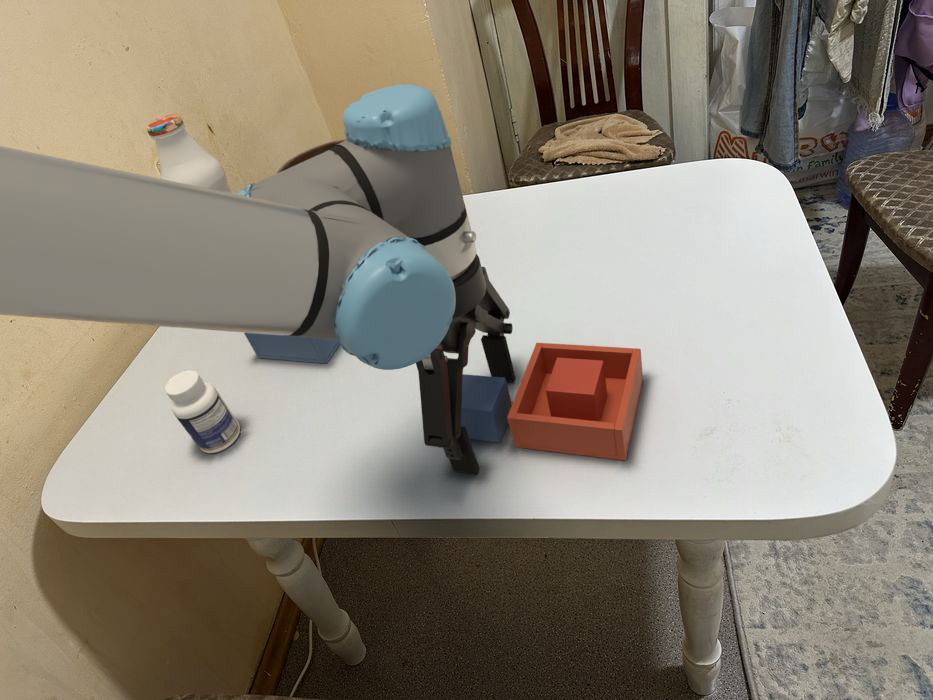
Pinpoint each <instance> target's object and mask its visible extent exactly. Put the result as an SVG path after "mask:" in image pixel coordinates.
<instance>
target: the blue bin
mask: <svg viewBox="0 0 933 700" xmlns="http://www.w3.org/2000/svg"><path fill="white" fill-rule="evenodd" d="M243 334H244V336H245V338H246V340H247V341H248V342H249V344H250V346H251V348H252V349H253V351H254V353H255V355H256V357H257V358H258V359H266V360H267V359H268V360H277V361H278V360H280V361H289V362H291V361H293V362H305V363H316V364H317V363H318V364H328V363H329V362H330V360H331V358H332V357H333V356H334V354H335V353H336V351H337V350H338V348H339V347H340V346H341V344H340V343H339V341H336V340H329V339H316V338H305V337H297V336H285V335H272V334H258V333H244V332H243Z"/></svg>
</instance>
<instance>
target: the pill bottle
mask: <svg viewBox="0 0 933 700" xmlns="http://www.w3.org/2000/svg"><path fill="white" fill-rule="evenodd" d="M164 392H165V393H166V395H167V396H168V397H169V399H170V400H171V403H170V405H171V406H170V408H171V411H172V414H173V415H174V417H175V418H176V419H177V420H178V422H179V423H180V424H181V426H182V427H183V428H184V430H185V431H186V433H187V434H188V435H189V437H190V438H191V439H192V441H193V442H194V443H195V444H196V446H197V447H198V448H199V450H201V451H202V452H203V453H207V454H215V453H219V452H222V451H224V450H226V449H227V448H229V447H230V446H231V445H232V444H234V442H236V440H237V439H238V438H239V436H240V434H241V433H240V432H241V425H240V423H239V422H238V420H237V418H236V417H235V415H234V413H233V412H232V411H231V409H230V408H229V407H228V405H227V404H226V402H225V400H224V399H223V398H222V396H221V394H220V393H219V392H218V390H217V389H216V387H215V386H214V385H213V384H212V383H211V382H208V381H204V380H203V378H202V377H201V376H200V374H199V373H198V372H197V371H196V370H193V369H188V370H184V371H183V370H182V371H180V372H179V373H177V374H175V375H174V376H172V377H171V378H170V379H169V380H168V381H167V383H166V384H165V386H164Z"/></svg>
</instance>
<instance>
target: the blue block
mask: <svg viewBox="0 0 933 700" xmlns="http://www.w3.org/2000/svg"><path fill="white" fill-rule="evenodd" d="M507 383H508V382H506V379H505V378H503V377H491V375H490V376H489V375H479V374H478V375H476V374H467V373H463V379H462V407H461V427H466V430H467V433H468V436H469V439H470V440H474V441H475V440H476V441H484V442H492V443H498V444H499V443H500V444H501V442H502V440H503V437H504V434H505V432H506V429H507V426H508V425H509V423H508V419H507V417H508V414H509V412H510V409H511V406H512V404H513V402H512V399H511V395H510V391H509V388H508V384H507Z"/></svg>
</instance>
